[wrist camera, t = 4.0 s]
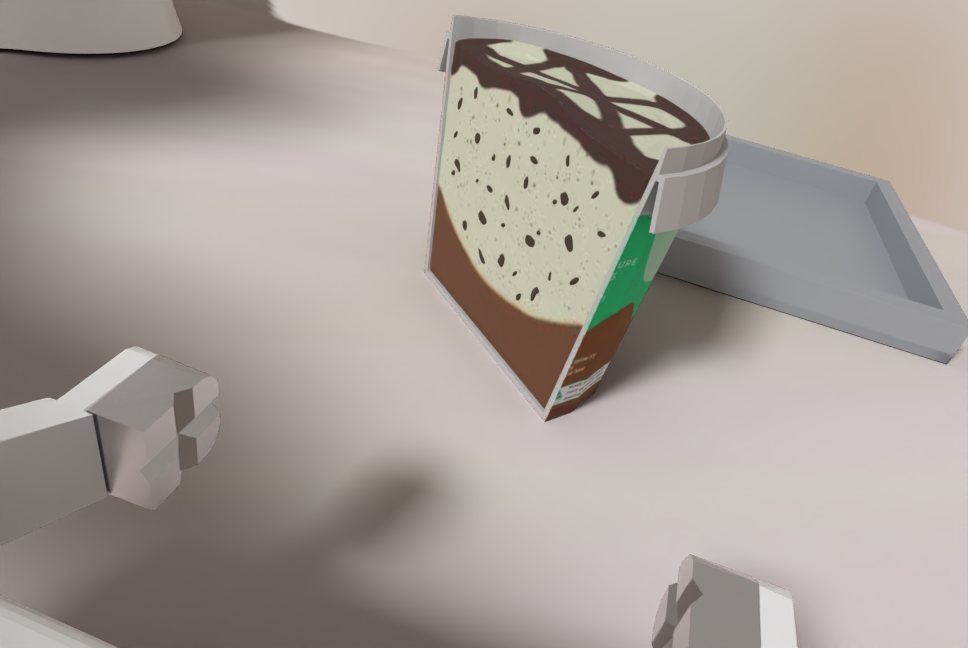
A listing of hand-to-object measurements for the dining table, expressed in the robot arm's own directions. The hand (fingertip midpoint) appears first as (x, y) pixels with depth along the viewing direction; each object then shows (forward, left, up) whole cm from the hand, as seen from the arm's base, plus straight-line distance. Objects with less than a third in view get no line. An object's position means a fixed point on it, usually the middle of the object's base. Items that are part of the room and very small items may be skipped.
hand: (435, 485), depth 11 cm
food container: (0, +15, -7) cm, 17 cm away
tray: (+10, +32, -6) cm, 34 cm away
